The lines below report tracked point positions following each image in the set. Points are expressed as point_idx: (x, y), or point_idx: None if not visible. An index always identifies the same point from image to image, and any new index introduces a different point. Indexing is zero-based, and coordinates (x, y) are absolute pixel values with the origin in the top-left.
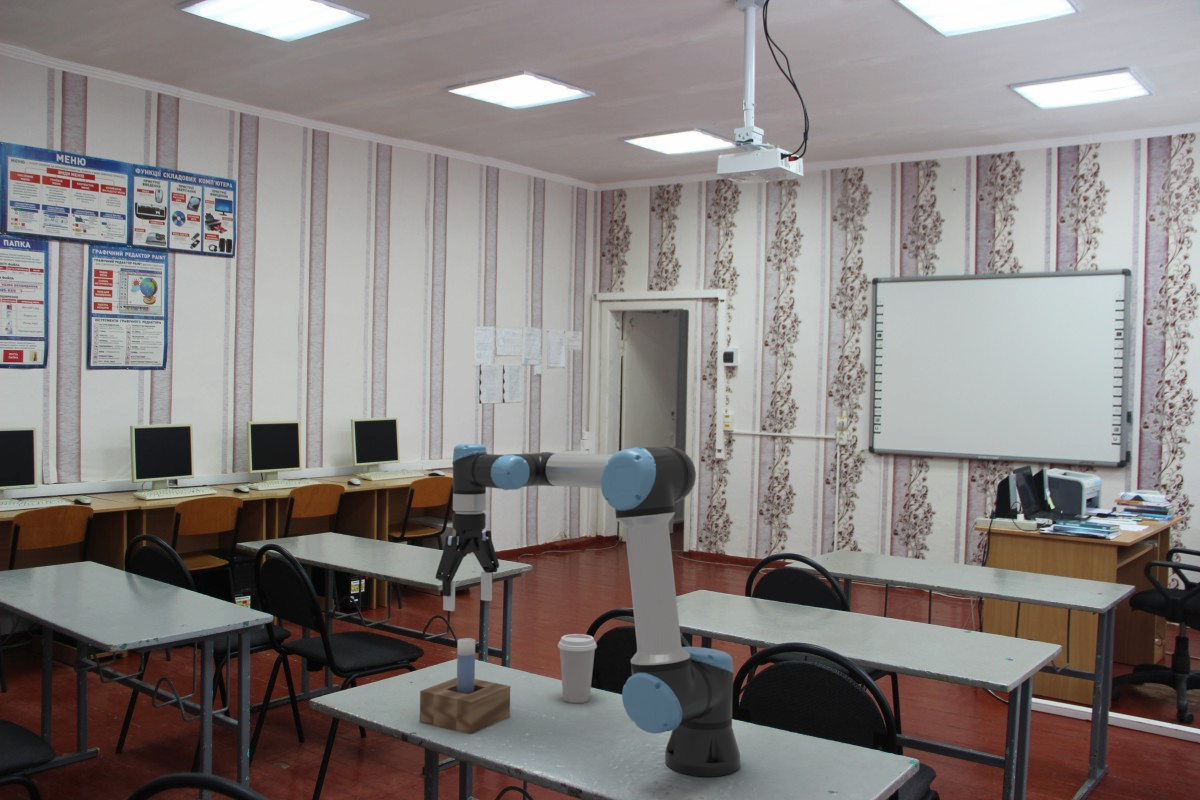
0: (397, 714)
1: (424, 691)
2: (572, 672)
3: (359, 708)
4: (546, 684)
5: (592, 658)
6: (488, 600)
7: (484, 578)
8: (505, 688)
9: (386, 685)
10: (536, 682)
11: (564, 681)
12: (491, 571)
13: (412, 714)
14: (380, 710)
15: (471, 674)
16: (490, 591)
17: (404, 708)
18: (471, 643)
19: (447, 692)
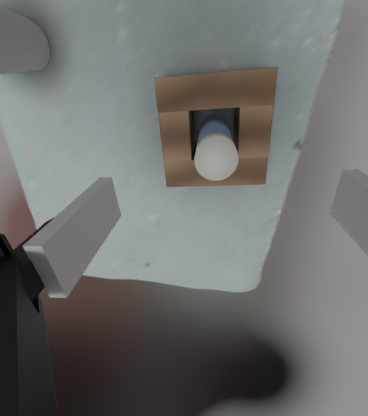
0: (246, 207)
1: (264, 177)
2: (8, 21)
3: (251, 250)
4: (26, 137)
5: None
6: (112, 185)
7: (76, 255)
8: (169, 76)
9: (173, 275)
10: (33, 154)
11: (30, 50)
12: (17, 257)
13: (236, 194)
14: (244, 230)
15: (218, 124)
16: (92, 193)
17: (223, 215)
18: (223, 137)
19: (250, 144)
